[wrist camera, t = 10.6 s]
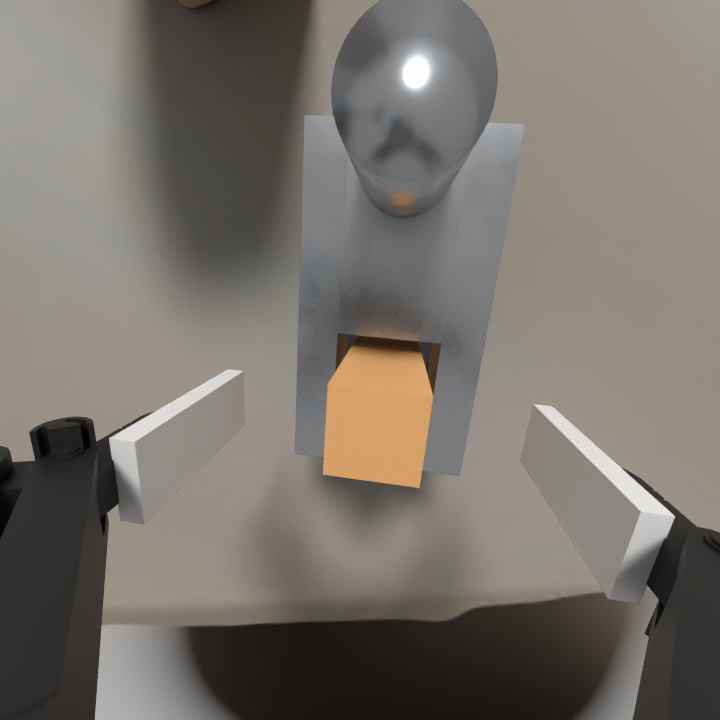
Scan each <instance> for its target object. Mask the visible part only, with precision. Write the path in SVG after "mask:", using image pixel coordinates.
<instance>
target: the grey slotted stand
mask: <svg viewBox="0 0 720 720" xmlns="http://www.w3.org/2000/svg"><path fill="white" fill-rule="evenodd" d="M496 90H497V62H496V55H495V51H494V47H493V44H492V41H491V38H490V36H489V34H488V31H487V29H486V28H485V26H484V24H483V22H482V21H481V19H480V18H479V17H478V16H477V14H476V13H475V12H474V11H473V10H472V9H471V8H470V7H469V6H468V5H467V4H466V3H464V2H463V1H461V0H381V1H379V2H378V3H376V4H375V5H374V6H372V7H371V8H370V9H369V10H367V11H366V13H365V14H364V15H363V16H362V17H361V18H360V19H359V20H358V21H357V22H356V24H355V25H354V26H353V28H352V29H351V30H350V32H349V34H348V35H347V37H346V39H345V41H344V43H343V45H342V47H341V49H340V52H339V54H338V57H337V61H336V64H335V68H334V73H333V79H332V89H331V93H332V109H333V115H334V116H315V115H305V116H304V151H303V186H302V221H301V256H300V291H299V326H298V361H297V396H296V431H295V454H300V455H307V456H315V457H322V458H324V444H325V426H326V408H327V390H328V383H329V382H330V380H331V378H332V377H333V375H334V374H335V372H336V370H337V369H338V367H339V366H340V364H341V362H342V361H343V359H344V358H345V356H346V354H347V353H348V351H349V350H350V348H351V346H352V345H353V343H354V342H355V340H356V338H357V337H358V335H361V336H371V337H381V338H391V339H401V340H411V341H418V342H419V345H420V349H421V353H422V356H423V360H424V364H425V367H426V371H427V375H428V379H429V382H430V386H431V390H432V393H433V402H432V408H431V415H430V422H429V428H428V435H427V442H426V449H425V455H424V462H423V469H422V471H426V472H433V473H441V474H448V475H456V476H460V473H461V467H462V462H463V456H464V451H465V446H466V440H467V435H468V429H469V424H470V419H471V413H472V408H473V403H474V397H475V392H476V386H477V381H478V376H479V370H480V365H481V359H482V354H483V349H484V343H485V338H486V332H487V327H488V322H489V316H490V311H491V306H492V300H493V295H494V289H495V284H496V279H497V273H498V268H499V262H500V257H501V252H502V246H503V241H504V235H505V230H506V225H507V219H508V214H509V209H510V203H511V198H512V192H513V187H514V182H515V176H516V171H517V165H518V160H519V155H520V149H521V144H522V138H523V133H524V128H525V124H509V123H488V121H489V118H490V115H491V112H492V109H493V106H494V101H495V97H496Z"/></svg>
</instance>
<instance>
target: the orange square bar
mask: <svg viewBox="0 0 720 720" xmlns="http://www.w3.org/2000/svg"><path fill="white" fill-rule="evenodd" d="M432 402H433V393H432V390H431V386H430V382H429V379H428V375H427V371H426V367H425V364H424V360H423V356H422V353H421V349H420V345H419V342H418V341H411V340H401V339H391V338H381V337H371V336H361V335H358V337H357V338H356V340H355V342H354V343H353V345H352V346H351V348H350V350H349V351H348V353H347V354H346V356H345V358H344V359H343V361H342V362H341V364H340V366H339V367H338V369H337V370H336V372H335V374H334V375H333V377H332V378H331V380H330V382H329V383H328V390H327V408H326V426H325V444H324V462H323V475H330V476H337V477H344V478H351V479H358V480H366V481H373V482H380V483H387V484H394V485H401V486H408V487H416V488H420V482H421V475H422V469H423V462H424V455H425V449H426V442H427V435H428V428H429V422H430V415H431V408H432Z"/></svg>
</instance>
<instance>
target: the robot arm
mask: <svg viewBox="0 0 720 720" xmlns="http://www.w3.org/2000/svg"><path fill="white" fill-rule="evenodd" d="M243 425H244V380H243V371H236V370H226V371H224V372H223V373H221V374H219V375H217V376H216V377H214V378H212V379H211V380H209V381H207V382H205V383H204V384H202V385H200V386H198V387H197V388H195V389H193V390H192V391H190V392H188V393H186V394H185V395H183V396H181V397H179V398H178V399H176V400H174V401H173V402H171V403H169V404H167V405H166V406H164V407H162V408H161V409H159V410H157V411H154V412H151V413H148V414H145V415H143V416H141V417H139V418H137V419H136V420H134V421H132V423H129V424H127V425H125V426H123V427H122V429H118V430H116V431H115V432H113V433H111V434H109V435H108V436H106V437H104V438H102V439H100V440H99V441H97V442H96V437H95V431H94V424H93V421H92V419H89V418H87V417H68V418H62V419H57V420H53V421H49V422H46V423H43V424H41V425H39V426H37V427H35V428H34V429H32V430H31V431H30V432H29V433H30V438H31V442H32V447H33V452H34V456H35V461H26V462H12V458H11V454H10V451H9V449H8V448H6V447H2V446H0V720H95V707H96V693H97V679H98V665H99V651H100V637H101V623H102V610H103V596H104V582H105V568H106V554H107V540H108V526H109V521H108V515H107V513H108V512H109V511H110V510H111V509H112V508H114V507H115V506H116V505H117V504H118V505H119V512H120V519H121V521H128V522H134V523H140V524H145V523H146V522H147V521H148V520H149V519H150V518H151V517H152V516H153V515H154V514H155V513H156V512H157V511H158V510H159V509H160V508H161V507H162V506H163V505H164V504H165V503H166V502H167V501H168V500H169V499H170V498H171V497H172V496H173V495H174V494H175V493H176V492H177V491H178V490H179V489H180V488H181V487H182V486H183V485H184V484H185V483H186V482H187V481H188V480H189V479H190V478H191V477H192V476H193V475H194V474H195V473H196V472H197V471H198V470H199V469H200V468H201V467H202V466H203V465H204V464H205V463H206V462H207V461H208V460H209V459H210V458H211V457H212V456H213V455H214V454H215V453H216V452H217V451H218V450H219V449H220V448H221V447H222V446H223V445H224V444H225V443H226V442H227V441H228V440H229V439H230V438H231V437H232V436H233V435H234V434H235V433H236V432H237V431H238V430H239V429H240V428H241V427H242V426H243ZM520 461H521V462H522V464H523V465H524V467H525V468H526V470H527V472H528V473H529V475H530V476H531V478H532V479H533V481H534V483H535V484H536V486H537V487H538V489H539V490H540V492H541V493H542V495H543V497H544V498H545V500H546V501H547V503H548V504H549V506H550V508H551V509H552V511H553V512H554V514H555V515H556V517H557V519H558V520H559V522H560V523H561V525H562V526H563V528H564V530H565V531H566V533H567V534H568V536H569V537H570V539H571V541H572V542H573V544H574V545H575V547H576V548H577V550H578V552H579V553H580V555H581V556H582V558H583V559H584V561H585V563H586V564H587V566H588V567H589V569H590V570H591V572H592V574H593V575H594V577H595V578H596V580H597V581H598V583H599V585H600V586H601V588H602V589H603V591H604V592H605V594H606V595H607V597H608V598H609V599H611V600H618V601H624V602H630V603H636V604H640V602H641V600H642V597H643V595H644V592H645V590H646V587H647V585H648V586H649V588H650V589H651V590H652V592H653V593H654V594H655V595H656V597H657V598H658V599H659V601H658V603H657V606H656V608H655V610H654V613H653V615H652V617H651V620H650V622H649V624H648V627H647V629H646V632H645V634H646V635H647V636H649V640H648V645H647V650H646V655H645V660H644V665H643V670H642V675H641V680H640V685H639V691H638V696H637V701H636V706H635V711H634V716H633V720H720V533H719V532H717V531H714V530H711V529H706V528H701V527H697V526H695V525H694V524H693V523H692V522H691V521H690V520H688V519H687V518H686V517H685V516H684V515H683V514H681V513H680V512H679V511H678V510H677V509H676V508H674V507H673V506H672V505H671V504H670V503H669V502H668V501H665V500H664V498H663V497H662V496H661V495H659V494H658V493H657V492H656V491H653V489H652V488H651V487H650V486H649V485H648V484H647V483H645V482H644V481H643V480H642V479H641V478H639V477H637V476H636V475H634V474H632V473H631V472H629V471H627V470H625V469H624V468H620V467H619V466H618V465H617V464H616V463H615V462H614V461H613V460H611V459H610V458H609V457H608V456H607V455H606V454H605V453H604V452H603V451H601V450H600V449H599V448H598V447H597V446H596V445H595V444H594V443H592V442H591V441H590V440H589V439H588V438H587V437H586V436H585V435H583V434H582V433H581V432H580V431H579V430H578V429H577V428H576V427H574V426H573V425H572V424H571V423H570V422H569V421H568V420H567V419H566V418H564V417H563V416H562V415H561V414H560V413H559V412H558V411H557V410H555V409H554V408H553V407H552V406H544V405H535V404H534V405H533V409H532V413H531V417H530V421H529V426H528V430H527V434H526V438H525V442H524V446H523V451H522V455H521V459H520Z"/></svg>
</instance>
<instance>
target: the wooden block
mask: <svg viewBox="0 0 720 720" xmlns="http://www.w3.org/2000/svg"><path fill="white" fill-rule="evenodd" d="M177 1H178V2H179V3H180V4H181V5H183V6H185V7H188V8H197V7H199V6H201V5H203V4H206V3H208V2H210V1H213V0H177Z"/></svg>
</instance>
